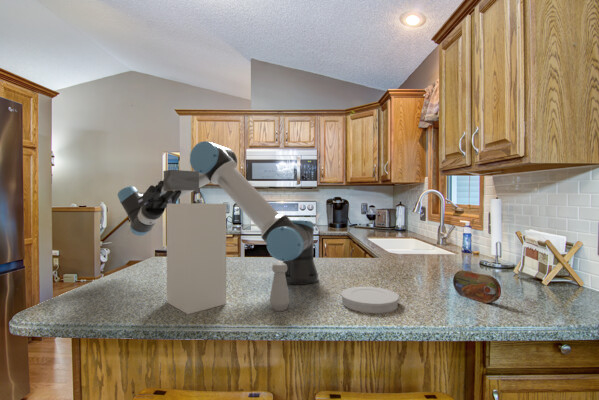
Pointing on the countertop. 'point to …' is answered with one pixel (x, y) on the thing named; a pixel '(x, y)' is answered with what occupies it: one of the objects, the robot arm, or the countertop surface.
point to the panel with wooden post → (180, 180)
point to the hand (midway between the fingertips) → (174, 177)
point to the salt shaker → (279, 288)
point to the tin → (477, 286)
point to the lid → (370, 299)
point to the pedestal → (196, 256)
